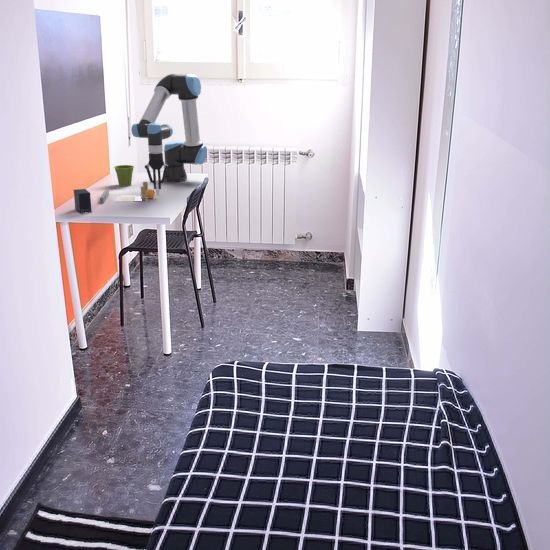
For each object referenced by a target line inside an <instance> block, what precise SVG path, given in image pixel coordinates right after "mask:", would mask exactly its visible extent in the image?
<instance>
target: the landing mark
mask: <svg viewBox="0 0 550 550" xmlns="http://www.w3.org/2000/svg"><path fill="white" fill-rule="evenodd" d="M135 197H138V196H136V195H135V194H134V195H131V194H130V195H118V197H117V198H116V200H115V202H116V203H133V201H135Z"/></svg>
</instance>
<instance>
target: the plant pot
mask: <svg viewBox="0 0 550 550" xmlns="http://www.w3.org/2000/svg"><path fill="white" fill-rule="evenodd" d="M134 168H135V166H134V165H131V164H122V165H121V164H119V165H115V166H113V169H115V173H116V177H117V182H118V185H119V186H120V187H128V186H132V181H133V172H134Z"/></svg>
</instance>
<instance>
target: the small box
mask: <svg viewBox="0 0 550 550" xmlns="http://www.w3.org/2000/svg"><path fill="white" fill-rule="evenodd" d="M73 198H74V210H75V211H77V212H78V214H86V213H85V212H88V213H92V200H91V192H90V191H89V190H87V189H86V188H80V189H77V188H76V189H73Z"/></svg>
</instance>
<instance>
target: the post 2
mask: <svg viewBox="0 0 550 550" xmlns="http://www.w3.org/2000/svg"><path fill="white" fill-rule="evenodd" d="M140 195H141V199H142V201H146V202H147V197H146V192H145V186H143V185H141V186H140Z"/></svg>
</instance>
